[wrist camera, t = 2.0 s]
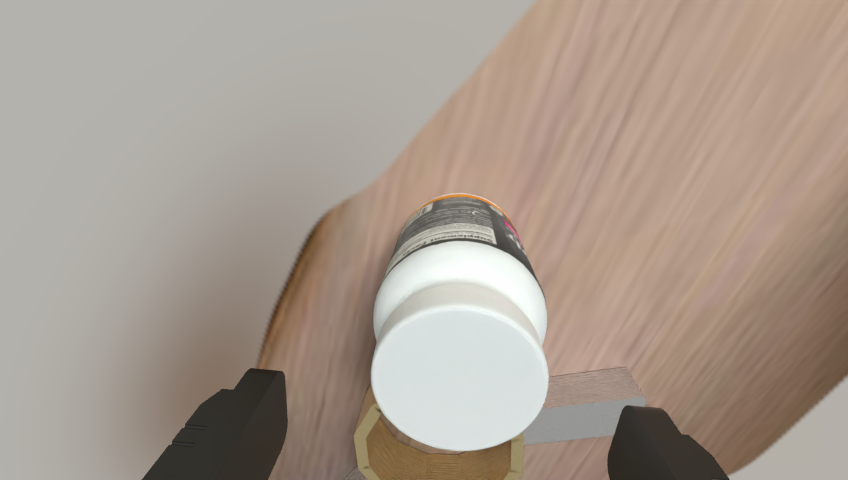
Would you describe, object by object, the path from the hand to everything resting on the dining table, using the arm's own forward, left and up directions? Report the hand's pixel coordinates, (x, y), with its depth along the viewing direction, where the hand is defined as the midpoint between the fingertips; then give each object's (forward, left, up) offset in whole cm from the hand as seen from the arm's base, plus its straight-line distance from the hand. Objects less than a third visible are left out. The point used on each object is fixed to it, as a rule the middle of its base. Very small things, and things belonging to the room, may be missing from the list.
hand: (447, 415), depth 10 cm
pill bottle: (0, 0, -11) cm, 11 cm away
